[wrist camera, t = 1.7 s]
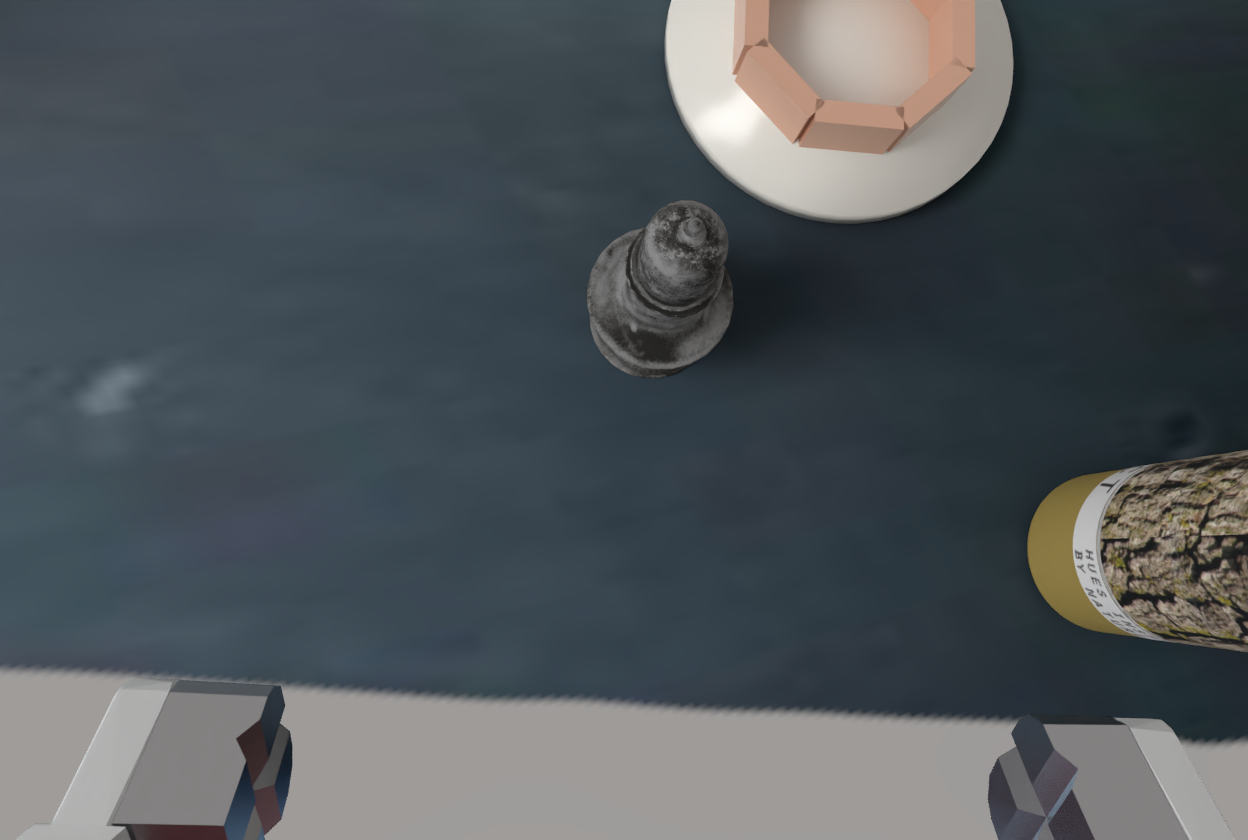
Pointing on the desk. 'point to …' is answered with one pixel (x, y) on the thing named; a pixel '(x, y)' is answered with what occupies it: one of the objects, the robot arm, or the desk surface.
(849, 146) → the saucer
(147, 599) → the desk surface
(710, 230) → the grey chess piece
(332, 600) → the desk surface
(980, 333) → the desk surface
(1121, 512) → the wooden cylinder
